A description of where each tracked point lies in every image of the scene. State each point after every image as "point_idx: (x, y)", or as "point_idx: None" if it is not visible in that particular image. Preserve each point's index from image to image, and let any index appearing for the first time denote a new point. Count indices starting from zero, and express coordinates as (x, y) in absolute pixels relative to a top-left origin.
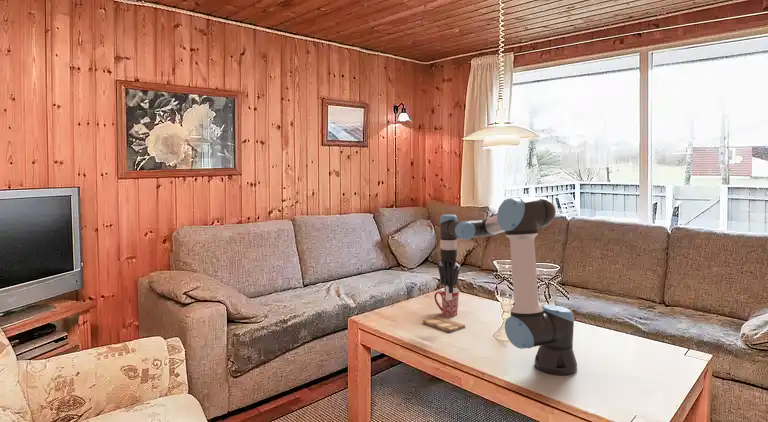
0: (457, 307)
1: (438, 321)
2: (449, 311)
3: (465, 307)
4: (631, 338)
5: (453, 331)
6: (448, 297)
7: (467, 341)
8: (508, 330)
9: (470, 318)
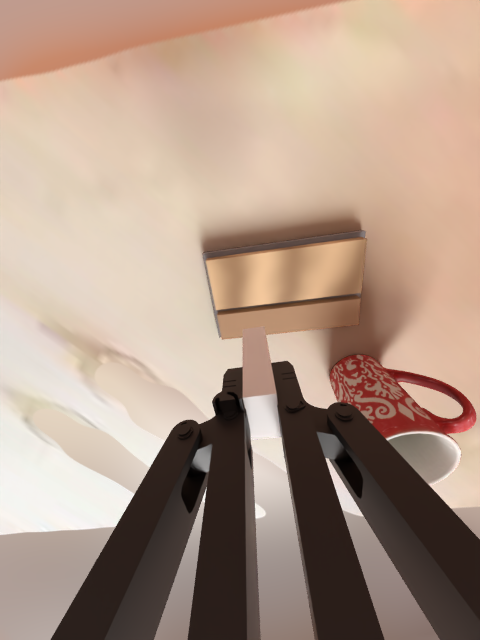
0: None
1: (311, 285)
2: (347, 375)
3: None
4: (24, 526)
5: None
6: (243, 342)
7: (125, 264)
8: None
9: None
